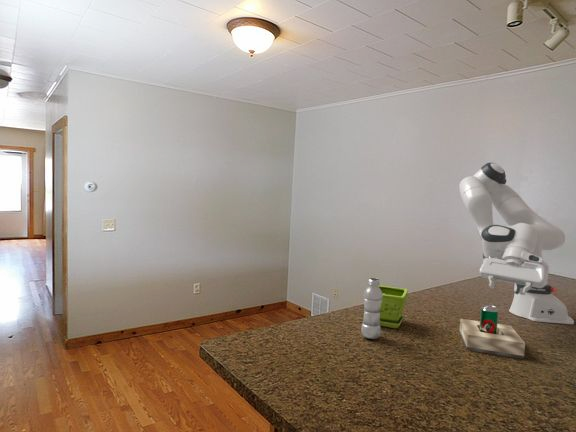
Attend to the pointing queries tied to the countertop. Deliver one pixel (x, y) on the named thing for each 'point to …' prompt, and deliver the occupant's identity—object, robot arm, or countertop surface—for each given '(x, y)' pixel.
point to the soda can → (488, 319)
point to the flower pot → (392, 306)
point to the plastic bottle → (372, 310)
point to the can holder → (492, 339)
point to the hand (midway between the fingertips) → (506, 290)
